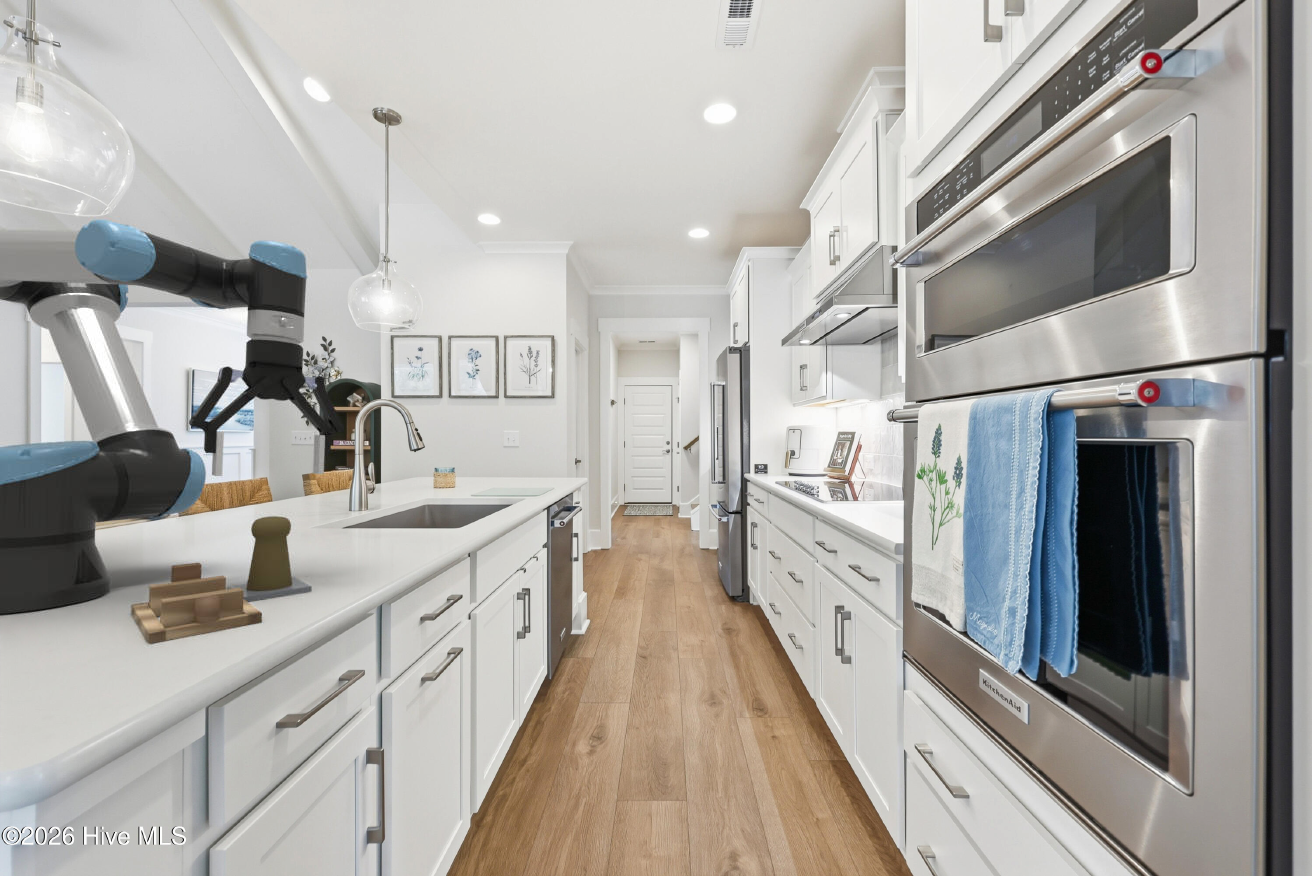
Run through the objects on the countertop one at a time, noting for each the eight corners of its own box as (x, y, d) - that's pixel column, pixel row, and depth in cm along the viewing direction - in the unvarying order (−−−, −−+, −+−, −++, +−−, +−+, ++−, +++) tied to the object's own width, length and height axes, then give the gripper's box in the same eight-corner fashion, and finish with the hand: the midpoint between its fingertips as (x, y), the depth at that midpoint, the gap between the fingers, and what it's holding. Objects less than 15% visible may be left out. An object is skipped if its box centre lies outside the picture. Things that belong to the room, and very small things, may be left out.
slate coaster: (227, 591, 87) (228, 586, 87) (293, 581, 94) (293, 576, 94) (242, 602, 81) (242, 597, 81) (311, 591, 88) (311, 586, 88)
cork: (268, 592, 84) (270, 520, 84) (236, 589, 85) (238, 518, 85) (301, 583, 90) (303, 515, 90) (270, 580, 91) (272, 514, 91)
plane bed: (131, 613, 75) (132, 569, 75) (230, 597, 84) (231, 558, 84) (148, 643, 64) (150, 592, 64) (261, 622, 72) (262, 576, 72)
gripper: (177, 324, 76) (171, 477, 76) (367, 351, 95) (362, 474, 95) (168, 331, 81) (162, 474, 81) (350, 355, 100) (346, 471, 100)
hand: (270, 474), depth 88 cm, fingers open, 13 cm apart
